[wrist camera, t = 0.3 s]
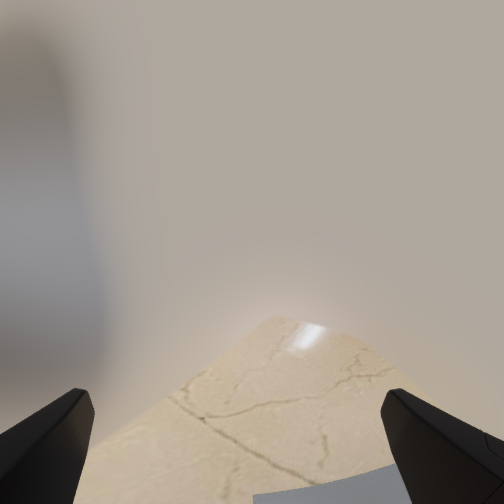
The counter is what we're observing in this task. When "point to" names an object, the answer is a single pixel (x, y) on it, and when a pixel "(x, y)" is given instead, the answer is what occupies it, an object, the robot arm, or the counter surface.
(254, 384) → the counter surface
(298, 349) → the counter surface
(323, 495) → the housing
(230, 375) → the counter surface
